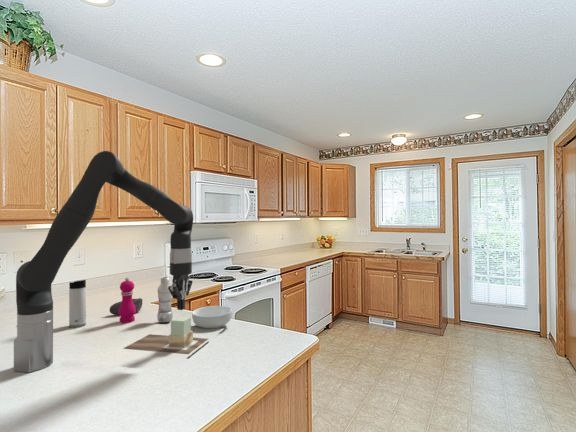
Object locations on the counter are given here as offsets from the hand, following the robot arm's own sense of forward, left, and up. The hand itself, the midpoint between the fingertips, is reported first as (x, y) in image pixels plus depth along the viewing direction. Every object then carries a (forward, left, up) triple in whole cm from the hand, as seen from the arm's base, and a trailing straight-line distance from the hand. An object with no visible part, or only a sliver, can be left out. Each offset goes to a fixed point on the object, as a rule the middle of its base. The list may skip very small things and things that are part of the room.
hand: (181, 309), depth 122 cm
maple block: (0, 0, -12) cm, 12 cm away
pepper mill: (+26, +42, -14) cm, 51 cm away
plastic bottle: (+28, +24, -14) cm, 39 cm away
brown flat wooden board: (0, +6, -14) cm, 15 cm away
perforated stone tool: (+36, +51, -14) cm, 64 cm away
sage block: (0, 0, -8) cm, 8 cm away
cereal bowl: (+26, 0, -14) cm, 29 cm away
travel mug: (+16, +59, -14) cm, 63 cm away
